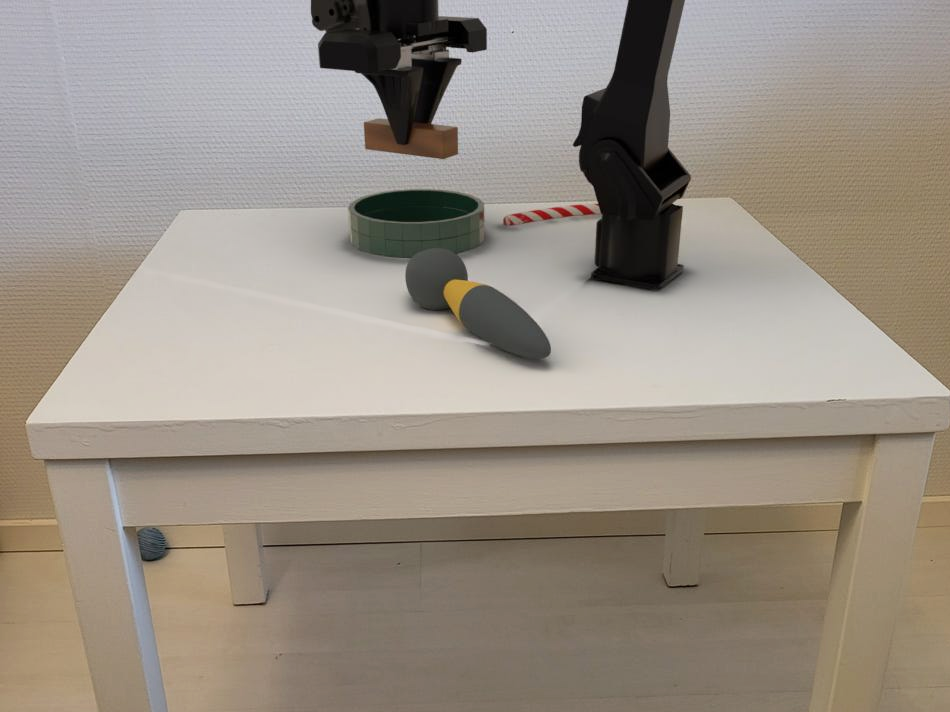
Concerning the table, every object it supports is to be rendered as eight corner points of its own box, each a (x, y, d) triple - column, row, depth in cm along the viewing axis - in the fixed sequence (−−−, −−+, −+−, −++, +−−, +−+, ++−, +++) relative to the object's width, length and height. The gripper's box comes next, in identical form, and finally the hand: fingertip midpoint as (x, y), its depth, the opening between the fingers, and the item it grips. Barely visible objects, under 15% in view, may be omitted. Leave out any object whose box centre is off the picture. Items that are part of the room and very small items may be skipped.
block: (458, 154, 92) (458, 126, 91) (444, 159, 90) (443, 131, 89) (380, 144, 96) (378, 118, 95) (364, 149, 95) (363, 122, 93)
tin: (508, 234, 100) (508, 198, 98) (437, 269, 90) (436, 230, 88) (401, 217, 106) (399, 183, 104) (323, 248, 96) (320, 211, 94)
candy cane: (497, 206, 105) (634, 200, 107) (497, 219, 105) (633, 212, 107) (512, 227, 98) (657, 219, 100) (512, 240, 98) (656, 231, 101)
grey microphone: (586, 356, 72) (589, 291, 70) (534, 374, 70) (535, 306, 67) (429, 288, 86) (427, 231, 83) (381, 300, 83) (377, 242, 81)
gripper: (390, -49, 96) (398, 118, 104) (260, -43, 82) (279, 150, 90) (489, -48, 91) (489, 128, 99) (368, -41, 77) (378, 164, 85)
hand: (411, 141), depth 93 cm, fingers closed on block, 2 cm apart
